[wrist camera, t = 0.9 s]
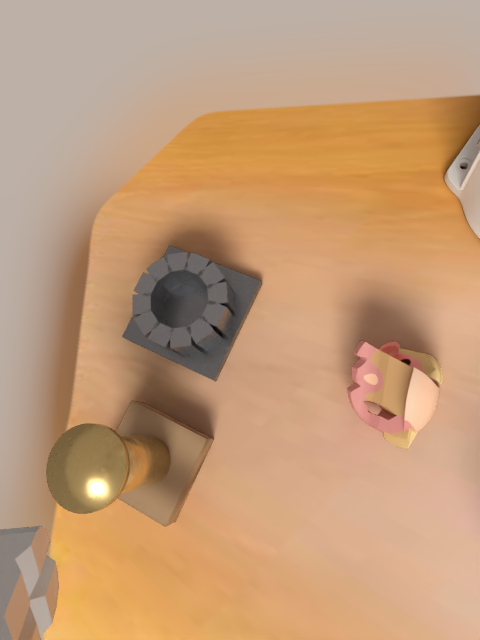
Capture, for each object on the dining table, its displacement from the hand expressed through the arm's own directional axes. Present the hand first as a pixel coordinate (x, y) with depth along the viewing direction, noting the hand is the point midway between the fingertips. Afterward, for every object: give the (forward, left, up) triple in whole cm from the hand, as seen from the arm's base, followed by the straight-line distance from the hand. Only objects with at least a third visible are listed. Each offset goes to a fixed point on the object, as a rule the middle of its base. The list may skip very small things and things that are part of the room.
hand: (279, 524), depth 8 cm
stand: (+8, -15, -39) cm, 42 cm away
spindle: (+8, -15, -36) cm, 39 cm away
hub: (-8, -19, -39) cm, 44 cm away
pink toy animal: (-8, +4, -39) cm, 40 cm away
